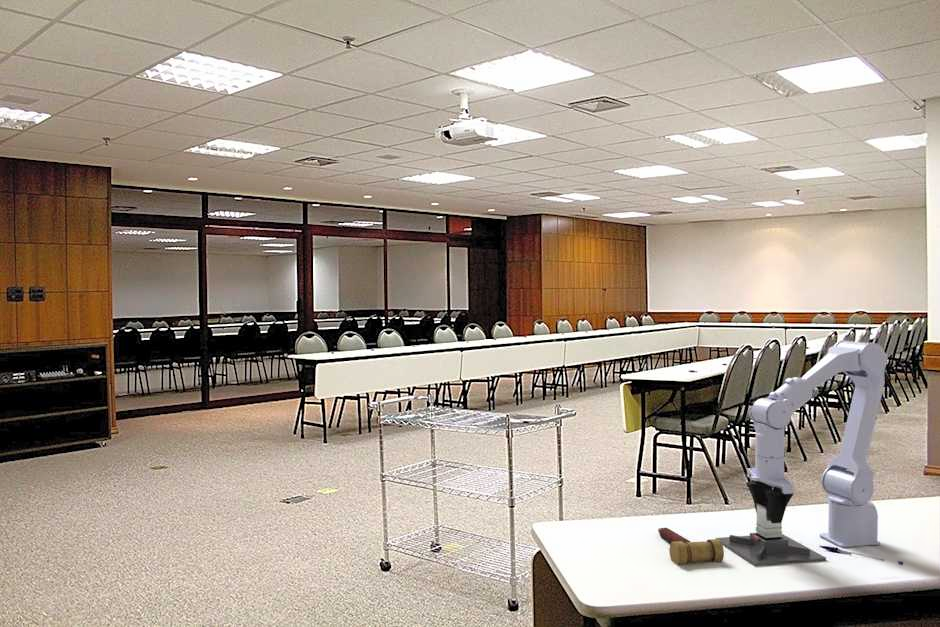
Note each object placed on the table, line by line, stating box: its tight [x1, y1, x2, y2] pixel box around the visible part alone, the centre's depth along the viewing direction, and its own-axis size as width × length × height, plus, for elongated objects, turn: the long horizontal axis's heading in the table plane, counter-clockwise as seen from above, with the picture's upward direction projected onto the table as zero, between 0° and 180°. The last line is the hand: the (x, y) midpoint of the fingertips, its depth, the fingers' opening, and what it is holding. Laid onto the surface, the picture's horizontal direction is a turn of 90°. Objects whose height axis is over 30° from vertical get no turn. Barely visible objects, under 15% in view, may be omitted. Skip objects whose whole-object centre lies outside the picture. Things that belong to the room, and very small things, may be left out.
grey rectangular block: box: [755, 503, 783, 538], centre depth 167 cm, size 4×4×6 cm
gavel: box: [657, 527, 725, 565], centre depth 170 cm, size 21×5×10 cm
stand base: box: [715, 532, 827, 567], centre depth 167 cm, size 16×16×3 cm
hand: (769, 518), depth 167 cm, fingers open, 5 cm apart
